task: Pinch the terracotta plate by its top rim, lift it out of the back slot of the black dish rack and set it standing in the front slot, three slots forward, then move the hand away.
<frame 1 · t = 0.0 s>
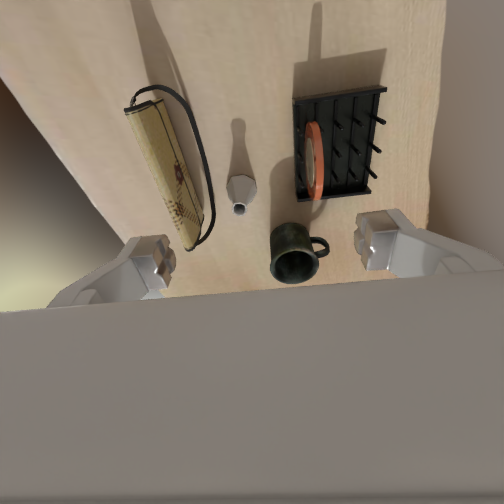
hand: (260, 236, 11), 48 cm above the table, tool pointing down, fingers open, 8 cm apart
plate: (312, 162, 49), point 8 cm above the table, touching rack
rack: (332, 146, 55), on the table
mug: (295, 236, 69), on the table
flask: (241, 188, 61), on the table
clutch purse: (191, 160, 57), on the table
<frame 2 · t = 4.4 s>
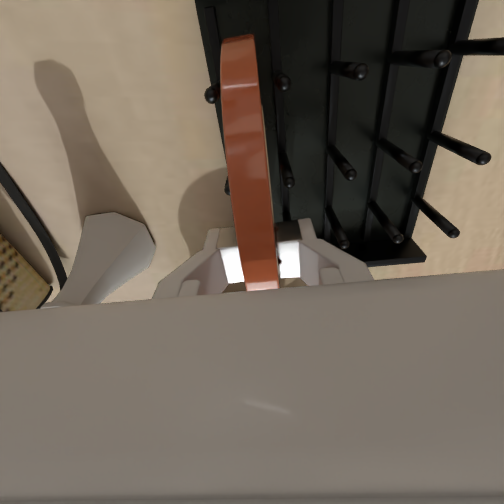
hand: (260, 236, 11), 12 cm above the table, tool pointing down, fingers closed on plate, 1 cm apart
plate: (259, 196, 15), point 8 cm above the table, touching gripper, rack
rack: (326, 143, 21), on the table
flask: (121, 240, 27), on the table
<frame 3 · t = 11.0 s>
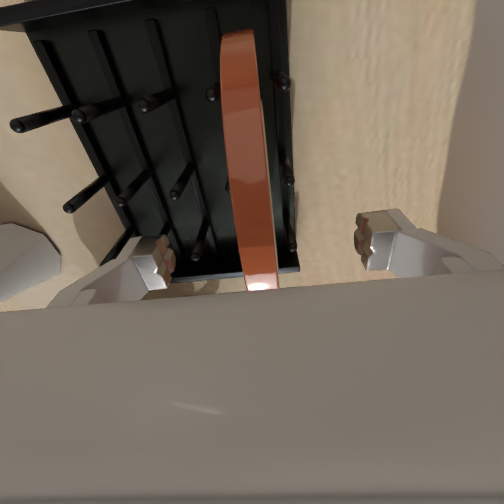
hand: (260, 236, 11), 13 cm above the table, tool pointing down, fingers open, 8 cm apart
plate: (259, 192, 15), point 8 cm above the table, touching rack
rack: (194, 160, 22), on the table
flask: (28, 249, 28), on the table
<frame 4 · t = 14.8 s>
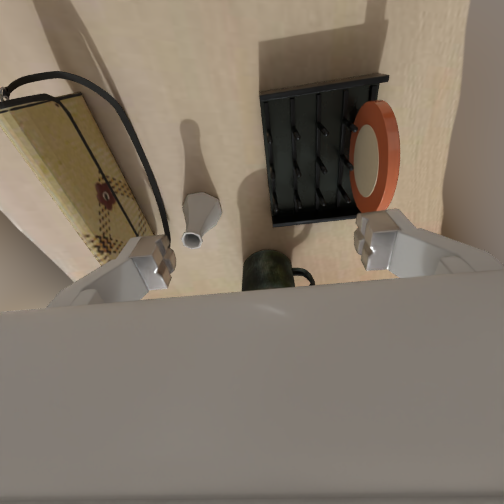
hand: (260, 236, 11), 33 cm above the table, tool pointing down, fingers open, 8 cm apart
plate: (369, 161, 34), point 8 cm above the table, tilted 10°, touching rack
rack: (316, 156, 42), on the table
mug: (274, 264, 56), on the table
flask: (202, 209, 48), on the table
clutch purse: (133, 174, 44), on the table
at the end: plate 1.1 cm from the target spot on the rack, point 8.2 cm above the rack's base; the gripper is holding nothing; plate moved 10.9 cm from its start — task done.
